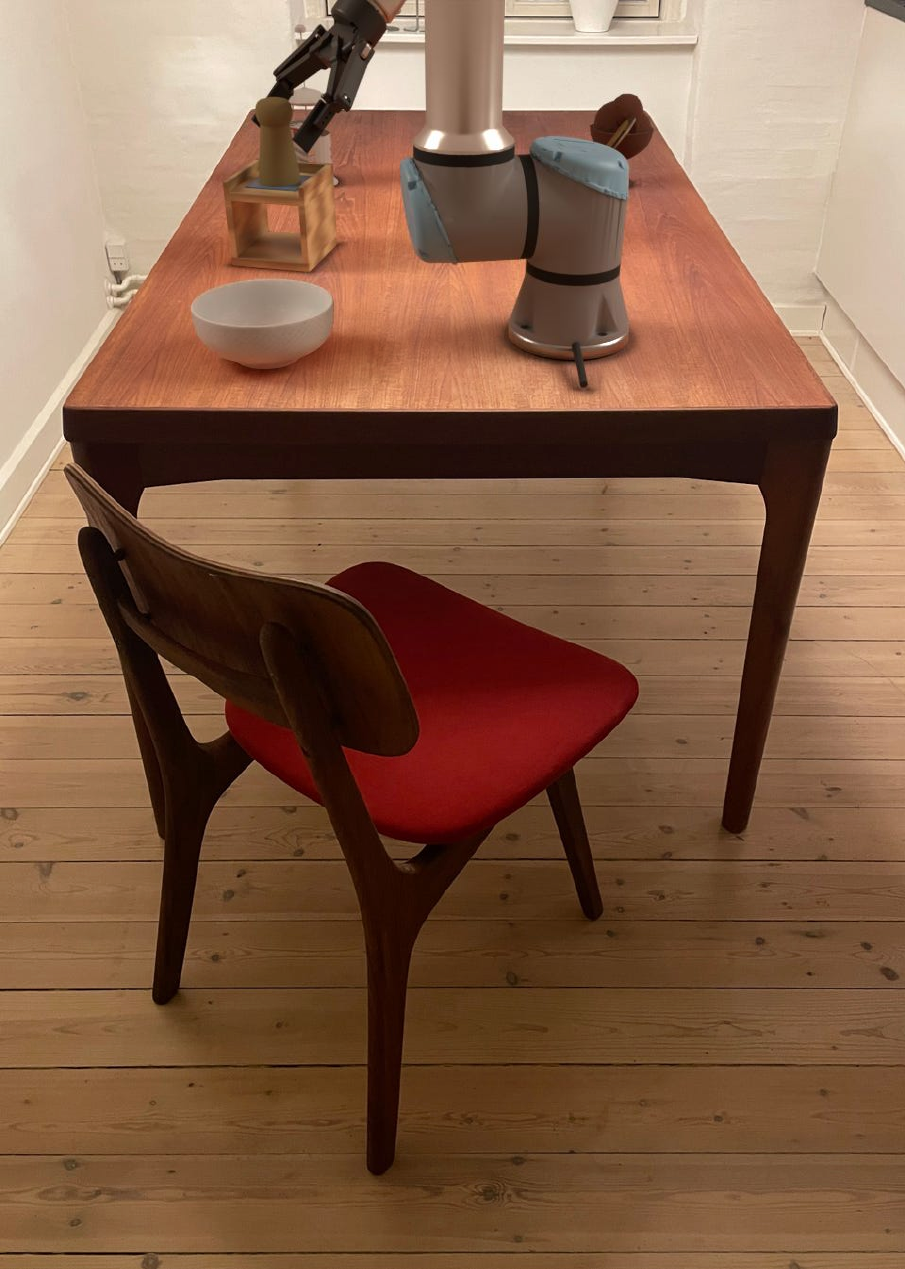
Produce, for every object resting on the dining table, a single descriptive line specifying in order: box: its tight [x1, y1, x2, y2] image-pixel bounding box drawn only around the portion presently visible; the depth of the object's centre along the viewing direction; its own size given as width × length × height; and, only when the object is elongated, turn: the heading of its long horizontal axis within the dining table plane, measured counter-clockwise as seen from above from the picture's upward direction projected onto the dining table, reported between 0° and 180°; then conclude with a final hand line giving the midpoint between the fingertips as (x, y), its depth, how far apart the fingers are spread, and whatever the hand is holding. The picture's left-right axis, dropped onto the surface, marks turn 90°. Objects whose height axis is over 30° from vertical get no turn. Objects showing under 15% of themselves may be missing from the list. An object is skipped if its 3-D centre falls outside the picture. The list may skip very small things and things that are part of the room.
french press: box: [289, 23, 339, 186], centre depth 192 cm, size 10×12×25 cm
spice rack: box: [222, 157, 338, 273], centre depth 164 cm, size 13×12×12 cm
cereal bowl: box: [190, 278, 335, 370], centre depth 135 cm, size 17×17×7 cm
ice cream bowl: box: [589, 93, 655, 188], centre depth 194 cm, size 11×11×15 cm
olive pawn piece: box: [254, 96, 301, 187], centre depth 158 cm, size 6×6×11 cm
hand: (278, 136), depth 158 cm, fingers open, 13 cm apart
